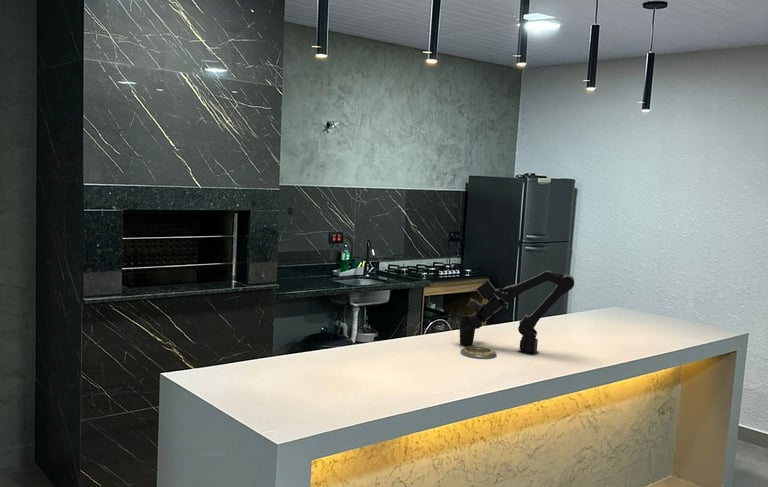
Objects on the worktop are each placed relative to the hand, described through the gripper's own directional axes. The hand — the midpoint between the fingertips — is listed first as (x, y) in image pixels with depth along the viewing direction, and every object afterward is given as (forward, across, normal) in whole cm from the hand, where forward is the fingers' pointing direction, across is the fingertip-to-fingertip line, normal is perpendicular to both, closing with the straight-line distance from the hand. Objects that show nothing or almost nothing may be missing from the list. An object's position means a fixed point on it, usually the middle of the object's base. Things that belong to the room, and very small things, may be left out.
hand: (464, 329), depth 302 cm
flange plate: (-2, +14, +11) cm, 18 cm away
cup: (+4, 0, +6) cm, 7 cm away
